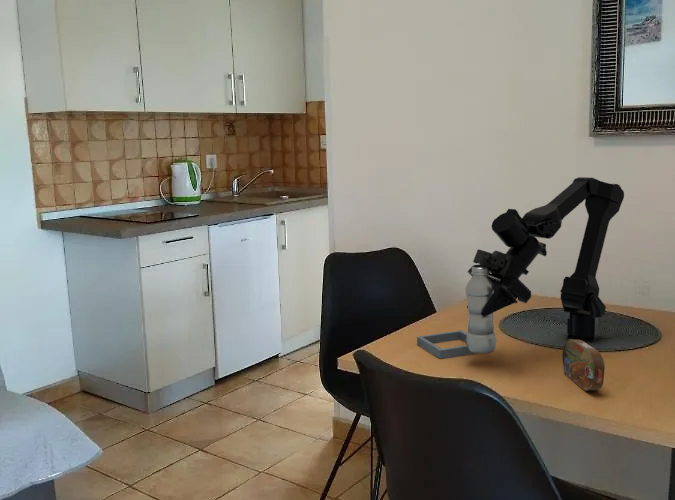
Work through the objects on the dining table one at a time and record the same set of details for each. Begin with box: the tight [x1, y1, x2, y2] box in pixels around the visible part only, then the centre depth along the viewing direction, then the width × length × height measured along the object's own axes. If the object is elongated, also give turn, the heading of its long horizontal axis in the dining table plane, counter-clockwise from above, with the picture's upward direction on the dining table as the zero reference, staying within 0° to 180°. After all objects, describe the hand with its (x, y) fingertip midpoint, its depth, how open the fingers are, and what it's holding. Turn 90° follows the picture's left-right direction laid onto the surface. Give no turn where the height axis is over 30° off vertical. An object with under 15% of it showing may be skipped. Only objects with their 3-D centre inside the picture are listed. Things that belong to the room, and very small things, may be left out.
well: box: [416, 329, 475, 360], centre depth 165 cm, size 12×12×2 cm
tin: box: [561, 338, 606, 392], centre depth 138 cm, size 15×3×8 cm, turn 4°
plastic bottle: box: [464, 264, 497, 355], centre depth 151 cm, size 6×7×20 cm
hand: (475, 312), depth 151 cm, fingers closed on plastic bottle, 6 cm apart
